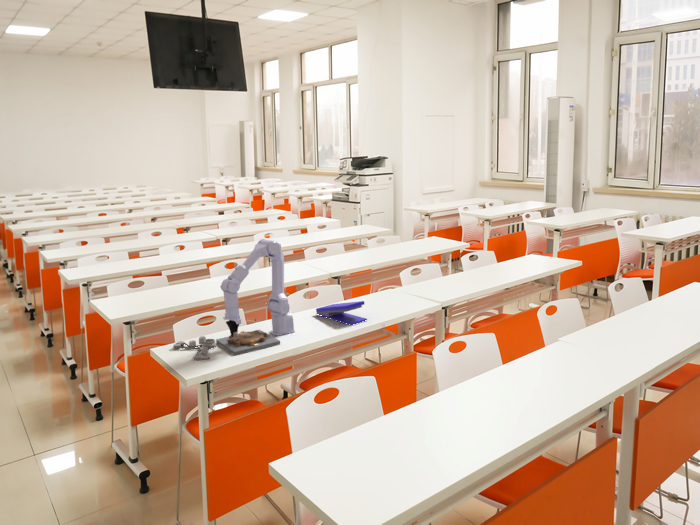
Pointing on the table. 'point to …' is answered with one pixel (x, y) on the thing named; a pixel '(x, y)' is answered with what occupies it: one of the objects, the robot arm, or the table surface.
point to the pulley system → (204, 350)
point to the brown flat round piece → (247, 338)
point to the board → (248, 348)
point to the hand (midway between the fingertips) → (234, 336)
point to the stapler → (342, 312)
